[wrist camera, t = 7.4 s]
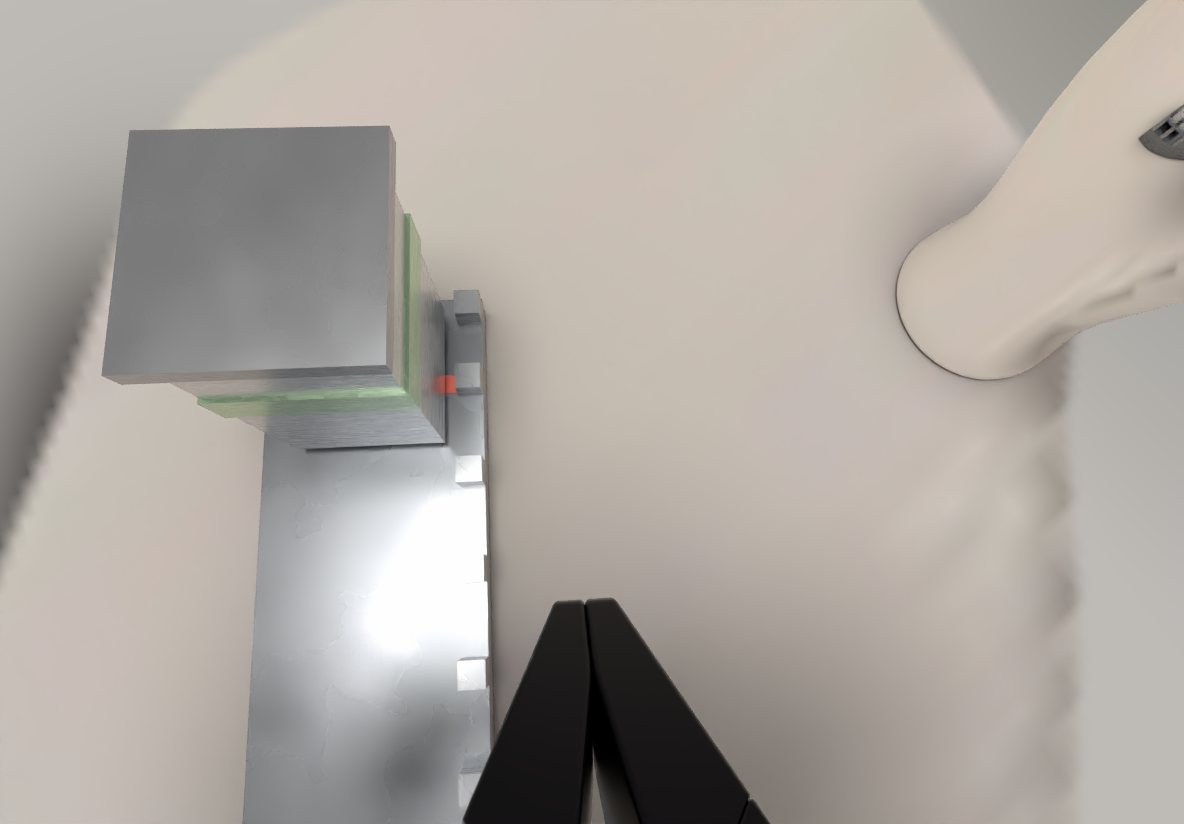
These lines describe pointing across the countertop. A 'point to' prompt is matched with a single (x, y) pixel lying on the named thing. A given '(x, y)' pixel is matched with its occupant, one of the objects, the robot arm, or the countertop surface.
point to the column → (278, 284)
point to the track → (376, 618)
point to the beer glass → (1066, 217)
